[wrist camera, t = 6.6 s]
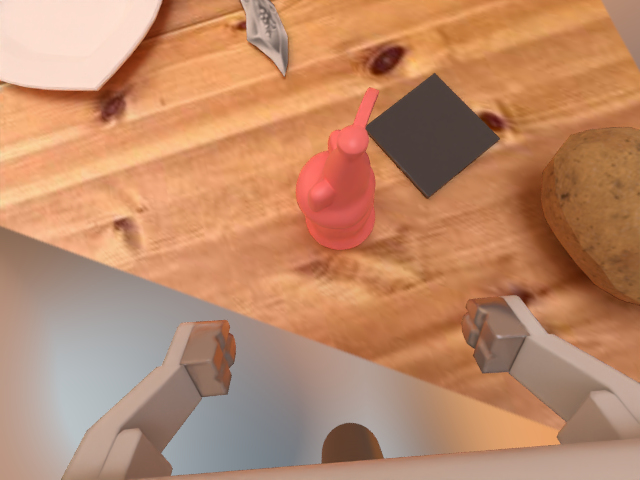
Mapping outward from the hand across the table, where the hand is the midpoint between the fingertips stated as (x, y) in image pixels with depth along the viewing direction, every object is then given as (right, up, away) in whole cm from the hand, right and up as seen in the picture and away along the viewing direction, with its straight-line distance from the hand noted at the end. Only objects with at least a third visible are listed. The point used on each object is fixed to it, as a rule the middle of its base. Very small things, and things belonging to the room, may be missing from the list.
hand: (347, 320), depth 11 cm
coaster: (+8, +12, +16) cm, 22 cm away
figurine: (+1, +4, +15) cm, 16 cm away
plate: (-24, +25, +19) cm, 40 cm away
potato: (+20, +3, +14) cm, 25 cm away
